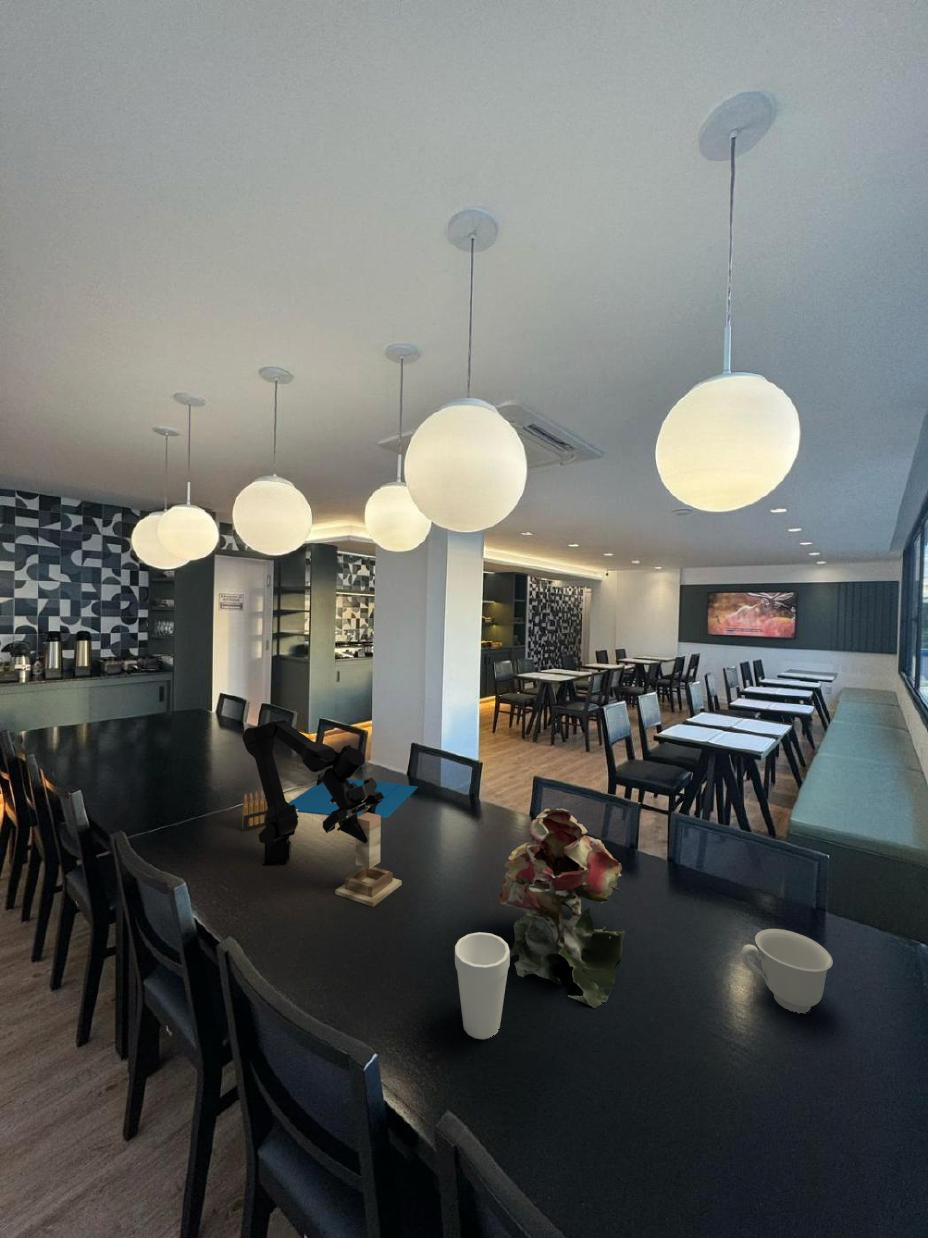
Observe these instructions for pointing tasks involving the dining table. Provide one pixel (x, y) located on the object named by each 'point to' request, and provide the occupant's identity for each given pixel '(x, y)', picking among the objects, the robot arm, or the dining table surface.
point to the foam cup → (482, 981)
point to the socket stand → (368, 886)
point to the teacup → (790, 967)
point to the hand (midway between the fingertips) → (372, 838)
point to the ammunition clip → (253, 812)
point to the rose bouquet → (555, 878)
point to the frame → (319, 803)
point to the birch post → (369, 841)
